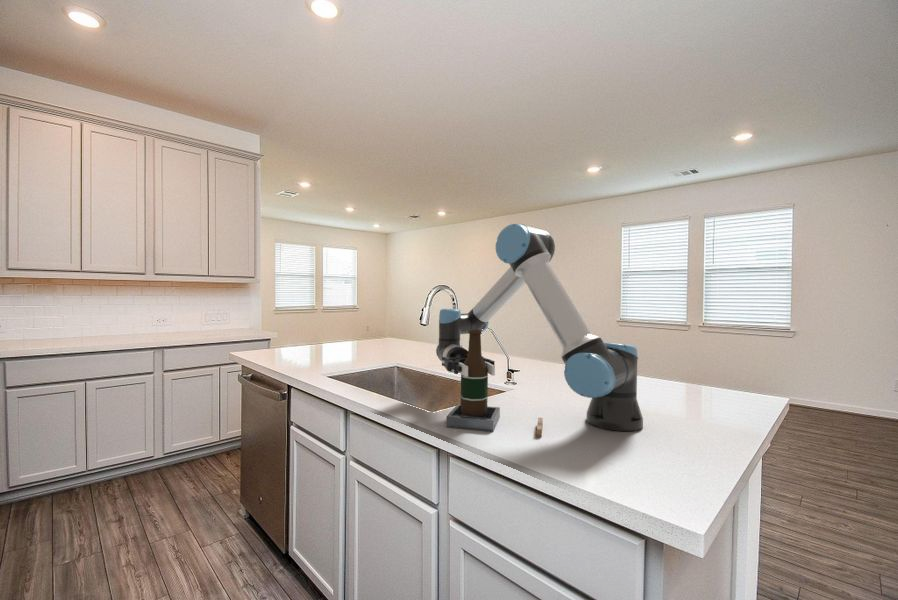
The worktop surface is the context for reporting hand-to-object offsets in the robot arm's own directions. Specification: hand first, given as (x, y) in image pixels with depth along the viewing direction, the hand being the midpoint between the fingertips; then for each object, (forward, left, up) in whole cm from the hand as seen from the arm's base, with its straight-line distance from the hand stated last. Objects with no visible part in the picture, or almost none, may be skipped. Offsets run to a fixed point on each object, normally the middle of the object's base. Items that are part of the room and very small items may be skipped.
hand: (480, 371), depth 111 cm
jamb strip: (-16, -2, -16) cm, 23 cm away
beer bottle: (+3, -4, -13) cm, 14 cm away
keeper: (+2, -4, -16) cm, 16 cm away
